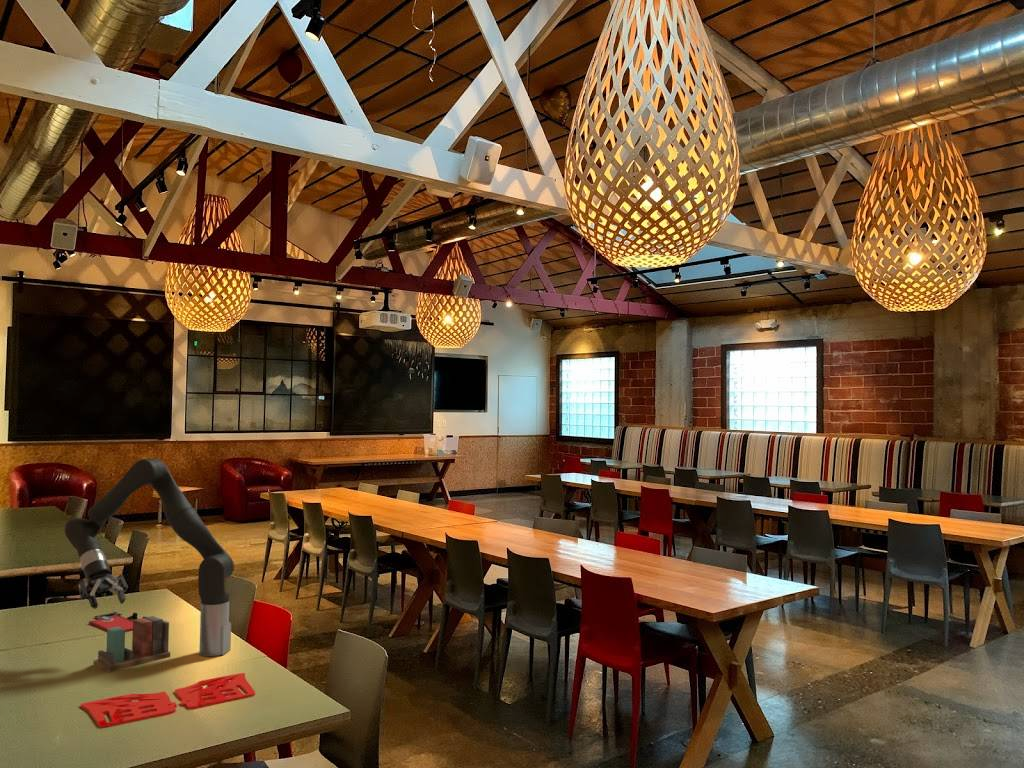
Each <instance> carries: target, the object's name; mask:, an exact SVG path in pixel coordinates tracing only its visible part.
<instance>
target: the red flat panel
mask: <svg viewBox="0 0 1024 768" xmlns="http://www.w3.org/2000/svg"><path fill="white" fill-rule="evenodd" d="M93 617H94V618H97V619H93V620H89V621H88V624H89V625H91V626H92V627H95V628H98V629H100V630H103V631H105V632H107V629H109V628H114V627H120V628H123V629H125V633H128V632H133V620H135V619H138V612H132V615H130V616H128V617H124V616H123V615H122V613H119V612H117V611H114V612H113V611H112V612H109V613H104V614H99V615H95V616H93ZM145 617H146V616H142V618H145Z"/></svg>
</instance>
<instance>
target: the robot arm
mask: <svg viewBox="0 0 1024 768" xmlns="http://www.w3.org/2000/svg"><path fill="white" fill-rule="evenodd" d="M147 485H149V486H151V487H152V488H153V490H154V491H155V492H156V493H157V495H158V496H159V498H160V500H161V504H162V508H163V514H164V517H165V519H166V521H167V522H168V524H169V526H170V527H171V529H172V531H174V533H175V534H176V535H177V536H178V537H179V538H180V539H181V540H183V541H184V542H185V543H187V544H189V545H190V546H192V547H193V549H195V550H196V551H197V552H198V553H199V554H200V556H201V557H202V559H203V560H202V561H201V562H200V564H199V567H198V577H197V578H198V587H197V589H198V595H199V598H200V617H199V619H200V620H199V623H200V624H199V651H198V652H199V655H200V656H203V657H216V656H224V655H225V654H228V652H229V651H231V649H232V648H231V645H232V622H231V621H230V599H231V598H230V597H231V596H230V595H231V594H230V593H229V592H228V591H227V590H226V589H225V580H227V579H228V578H230V577H231V576H232V575H233V574H234V571H235V563H234V560H233V559H232V557H231V555H229V553H228V552H227V551H226V550H225V549H224V548H223V547H222V545H221V544H220V543H219V542H218V541H217V540H216V538H215V537H214V536H213V535H212V533H211V531H210V529H208V527H207V526H206V525H205V523H204V521H203V520H202V519H201V517H200V516H199V513H197V511H196V509H195V508H194V507H193V506H192V504H191V502H189V500H188V499H187V498H186V496H185V493H183V492H182V490H181V488H180V487H179V486H178V484H177V483H176V481H175V479H174V477H173V476H172V474H171V471H170V469H169V468H168V467H167V465H166V463H165V462H164V461H163V460H161V459H159V458H156V457H155V458H154V457H153V458H141V459H139V460H136V462H135V463H133V465H131V467H130V468H129V469H128V470H127V472H126V473H125V474H124V475H123V476H122V477H121V479H120V480H119V481H117V483H116V484H115V485H114V486H113V487H112V489H110V490H109V491H108V492H107V493H106V494H105V495H104V496H102V497H101V498H100V499H99V500H97V502H96V503H94V504H92V506H90V508H89V509H88V511H87V516H88V519H85V518H82V517H72V518H70V519H68V521H67V522H66V523H65V526H64V534H65V537H66V538H67V540H68V541H69V543H70V544H71V545H72V547H73V548H74V549H75V550H76V552H77V555H78V557H79V561H80V565H81V569H82V571H83V574H84V577H85V580H86V581H85V580H80V581H79V584H77V587H78V592H79V596H80V600H87V601H88V602H89V605H90V607H91V608H93V610H96V609H97V608H98V607H99V606H98V605H99V604H98V601H97V598H96V596H95V594H96V592H97V593H102V592H108V591H109V592H110V593H114V594H117V598H118V601H119V604H121V605H122V604H124V603H125V601H126V598H127V597H126V595H125V593H126V592H127V590H128V588H129V585H128V584H127V581H126V579H125V577H124V575H123V574H122V573H120V574H119V575H118V576H113V574H112V570H111V567H110V565H109V563H108V560H107V558H106V555H105V554H104V552H103V549H102V547H101V544H100V542H99V540H98V539H96V538H95V537H96V536H97V535H98V534H99V533H100V531H101V530H102V528H103V527H104V525H105V524H106V522H107V521H108V520H110V518H112V516H114V515H115V514H116V513H117V512H118V511H120V510H121V508H123V506H124V504H125V503H126V501H127V500H128V498H129V497H130V496H132V494H133V493H134V492H136V491H137V490H138V489H140V488H142V487H144V486H147ZM87 587H88V588H90V589H91V591H90V593H88V590H87Z"/></svg>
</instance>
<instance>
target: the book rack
mask: <svg viewBox="0 0 1024 768" xmlns="http://www.w3.org/2000/svg"><path fill="white" fill-rule="evenodd" d="M144 617H145V618H143V617H141V618H137V619H135V620H134V619H132V621H133V631H132V635H131V636H132V637H131V638H132V643H131V645H132V646H131V648H132V649H130V648H127V647H125V653H124V661H120V662H116V663H114V655H111V654H109V653H107V652H106V651H105V650H103V649H102V650H101V649H100V650H98V653H97V659H94V660H93V659H92V660H93V663H92V664H93V666H94V667H96V668H99V669H101V670H103V671H105V672H107V673H110V672H115V671H118V670H123V669H127V668H130V667H134V666H139V665H143V664H147V663H151V662H154V661H158V660H163V659H167V658H170V657H171V652H170V651H169V640H170V639H169V638H170V637H169V635H170V634H169V633H170V622H169V621H166V620H163V619H162V618H161V617H156V616H154V615H150V616H144Z"/></svg>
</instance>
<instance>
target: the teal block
mask: <svg viewBox="0 0 1024 768" xmlns="http://www.w3.org/2000/svg"><path fill="white" fill-rule="evenodd" d="M125 643H126V632H125V629H123V628H120V627H114V628H109V629H107V631H106V651H105V652H107V653H109V654H111V655H114V663H116V662H120V661H124V653H125V648H126V644H125Z"/></svg>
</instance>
